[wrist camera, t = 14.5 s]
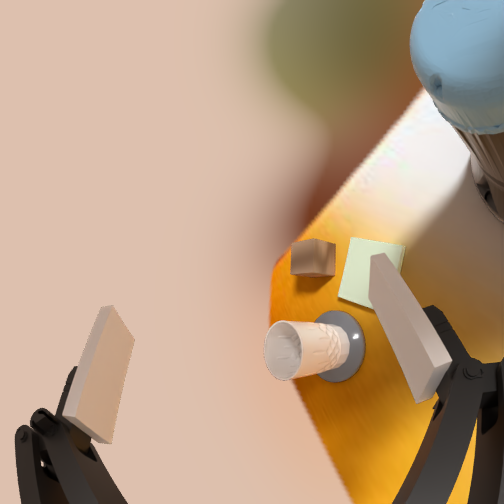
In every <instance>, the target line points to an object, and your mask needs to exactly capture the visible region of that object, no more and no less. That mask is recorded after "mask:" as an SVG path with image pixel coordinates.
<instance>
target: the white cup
mask: <svg viewBox="0 0 504 504" xmlns="http://www.w3.org/2000/svg"><path fill="white" fill-rule="evenodd" d="M349 348H350V342H349V339H348V336H347V333H346V332H345V331H344V330H343V329H342V328H341V327H340V326H337V325H333V324H323V323H312V322H297V321H278V322H276V323H274V324H273V325H272V326H271V327H270V329H269V330H268V332H267V335H266V337H265V342H264V358H265V362H266V365H267V368H268V370H269V371H270V373H271V374H272V375H273V376H274V377H275V378H277V379H279V380H283V381H285V380H291V379H295V378H300V377H305V376H310V375H314V374H318V373H321V372H324V371H327V370H330V369H335V368H338V367H340V366H341V365H342V364H343V363H345V361H346V359H347V357H348V355H349Z"/></svg>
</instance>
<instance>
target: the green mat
mask: <svg viewBox="0 0 504 504" xmlns="http://www.w3.org/2000/svg"><path fill="white" fill-rule="evenodd" d="M405 248H406V247H405V246H402V245H396V244H391V243H385V242H379V241H373V240H367V239H361V238H355V237H351V240H350V245H349V250H348V255H347V259H346V264H345V268H344V272H343V277H342V281H341V285H340V289H339V293H338V297H341V298H343V299H346V300H349V301H352V302H355V303H357V304H360V305H363V306H366V307H369V308H371V309H374V308H373V306H372V304H371V302H370V300H369V298H368V294H369V278H370V256H372V255H376V254H380V253H385V254H386V255H387V257H388V258H389V259H390V261H391V262H392V264H393V265H394V267H395V268H396V269H397V271H398V272H399V274H400V272H401V267H402V263H403V258H404V253H405Z"/></svg>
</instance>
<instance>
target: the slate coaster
mask: <svg viewBox="0 0 504 504" xmlns="http://www.w3.org/2000/svg"><path fill="white" fill-rule="evenodd" d="M314 323H323V324H333V325H337V326H340V327H341V328H342V329H343V330H344V331H345V332H346V333H347V336H348V339H349V342H350V348H349V355H348V357H347V359H346V361H345V363H343V364H342V365H341V366H340V367H338V368H335V369H330V370H327V371H324V372H321V373H318V375H319V376H320V377H321V378H322V379H324V380H326V381H329V382H341V381H344V380H347V379H349V378H351V377H352V376H353V375H354V374H355V373H356V372H357V371H358V370H359V368H360V366H361V364H362V362H363V359H364V355H365V338H364V334H363V331H362V328H361V326H360V325H359V323H358V322H357V320H356V319H355V318H354V317H353V316H351V315H350V314H348V313H346V312H343V311H329V312H326V313H324V314H322V315H321V316H320V317H319V318H318V319H317V320H316V321H315V322H314Z"/></svg>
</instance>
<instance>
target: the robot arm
mask: <svg viewBox="0 0 504 504" xmlns="http://www.w3.org/2000/svg"><path fill="white" fill-rule="evenodd" d="M410 53H411V59H412V63H413V67H414V69H415V72H416V74H417V76H418V78H419V80H420V82H421V83H422V85H423V86H424V88H425V89H426V91H427V92H428V93H429V95H430V96H431V98H432V99H433V102H434V104H435V106H436V107H437V108H438V111H439V113H440V114H441V115H442V117H443V118H444V119H445V120H446V121H448V122H449V123H450V124H451V125H452V127H453V128H454V129H455V131H456V132H457V134H458V135H459V136H460V138H461V139H462V141H463V142H464V143H465V145H466V146H467V148H468V149H469V151H470V152H471V168H472V174H473V178H474V181H475V184H476V187H477V190H478V192H479V194H480V196H481V197H482V199H483V201H484V202H485V204H486V205H487V207H488V208H489V210H490V211H491V212H492V213H493V214H494V215H495V217H496V218H498V219H499V220H500V221H501V222H502V223H504V0H425V1H424V2H423V4H422V8H421V9H420V11H419V12H418V14H417V15H416V17H415V19H414V22H413V26H412V30H411V36H410ZM368 298H369V300H370V302H371V304H372V306H373V308H374V310H375V312H376V314H377V317H378V319H379V321H380V323H381V325H382V327H383V329H384V331H385V333H386V335H387V337H388V340H389V342H390V344H391V346H392V348H393V351H394V353H395V355H396V357H397V359H398V362H399V364H400V366H401V369H402V371H403V373H404V375H405V378H406V380H407V383H408V385H409V387H410V390H411V392H412V395H413V397H414V400H415V402H416V404H417V403H420V402H423V401H425V400H428V399H430V398H432V397H433V395H434V394H435V392H437V394H438V396H439V399H438V400H437V402H436V404H435V405H434V407H433V409H435V410H434V413H433V416H432V418H431V421H430V424H429V426H428V429H427V432H426V434H425V437H424V439H423V441H422V444H421V446H420V449H419V451H418V453H417V455H416V458H415V460H414V462H413V464H412V466H411V468H410V470H409V473H408V475H407V477H406V479H405V481H404V483H403V484H402V486H401V488H400V490H399V492H398V494H397V496H396V497H395V499H394V501H393V503H392V504H446V503H447V501H448V499H449V496H450V494H451V492H452V490H453V487H454V485H455V482H456V480H457V477H458V475H459V472H460V470H461V467H462V464H463V461H464V459H465V456H466V453H467V450H468V447H469V444H470V440H471V437H472V434H473V430H474V427H475V423H476V419H477V434H476V447H475V458H474V466H473V474H472V481H471V487H470V492H469V498H468V503H467V504H504V358H503V359H502V361H501V362H496V363H487V364H482V363H481V362H480V361H479V360H477V359H475V358H471V357H470V356H469V354H468V353H467V351H466V349H465V348H464V346H463V344H462V343H461V341H460V339H459V338H458V336H457V334H456V333H455V331H454V330H453V329H452V326H451V325H450V323H448V320H447V319H446V317H445V315H444V314H443V312H442V311H440V310H439V309H438V308H436V307H435V306H434V305H431V306H428V307H425V308H422V307H421V306H420V304H419V303H418V301H417V300H416V298H415V296H414V295H413V293H412V292H411V290H410V289H409V287H408V286H407V284H406V283H405V281H404V280H403V278H402V277H401V275H400V274H399V272H398V271H397V269H396V268H395V267H394V265H393V264H392V262H391V261H390V259H389V258H388V257H387V255H386V254H385V253H380V254H376V255H372V256H370V278H369V294H368ZM134 341H135V339H134V338H133V336H132V335H131V333H130V332H129V330H128V329H127V327H126V326H125V324H124V323H123V321H122V320H121V318H120V316H119V315H118V313H117V312H116V310H115V308H114V307H113V306H112V305H111V306H106V307H101V309H100V311H99V314H98V316H97V319H96V321H95V323H94V326H93V328H92V331H91V333H90V336H89V338H88V341H87V343H86V346H85V349H84V351H83V354H82V356H81V359H80V362H79V365H78V366H75V367H74V368H73V370H72V371H71V372H70V374H69V375H68V378H67V381H66V385H65V386H64V390H63V391H64V392H63V393H62V395H61V399H60V402H59V405H58V408H57V411H56V415H55V416H54V415H53V414H52V413H50V412H49V411H48V410H47V409H45V408H40V409H38V410H36V411H35V412H34V413H33V415H32V417H31V420H30V427H32V428H33V429H34V430H33V429H32V428H30V427H29V426H27V425H22V426H20V427H19V428H18V429H17V431H16V434H15V452H16V453H15V454H16V467H17V476H18V485H19V492H20V498H21V504H128V503H127V502H126V500H125V499H124V497H123V496H122V494H121V492H120V491H119V489H118V488H117V486H116V484H115V483H114V481H113V480H112V478H111V476H110V474H109V473H108V471H107V469H106V468H105V466H104V464H103V462H102V460H101V459H100V457H99V455H98V453H97V451H96V449H95V447H94V446H93V444H92V443H90V442H91V438H93V439H94V440H95V441H97V442H98V443H104V444H112V438H113V432H114V427H115V422H116V418H117V413H118V408H119V403H120V398H121V394H122V390H123V385H124V381H125V376H126V373H127V368H128V364H129V360H130V356H131V353H132V349H133V345H134ZM41 461H42V462H43V463H44V467H42V466H41Z"/></svg>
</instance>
